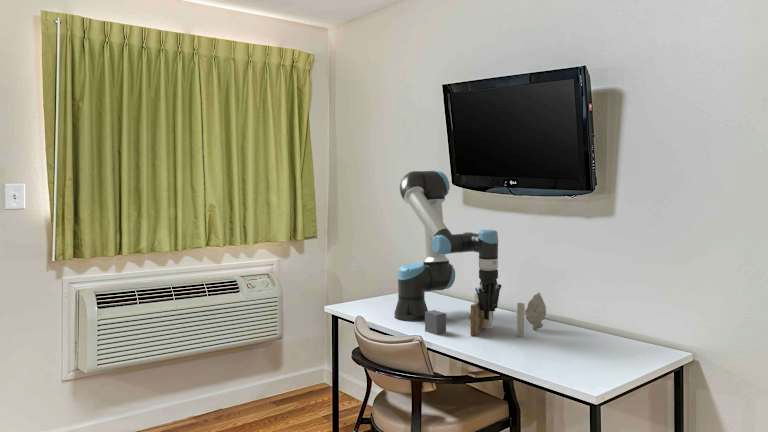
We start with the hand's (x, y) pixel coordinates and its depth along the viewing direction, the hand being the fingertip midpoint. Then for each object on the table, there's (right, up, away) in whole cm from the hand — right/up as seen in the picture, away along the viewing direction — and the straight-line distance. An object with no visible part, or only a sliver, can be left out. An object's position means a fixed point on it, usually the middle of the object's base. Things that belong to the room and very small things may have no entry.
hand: (488, 327), depth 237 cm
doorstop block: (-21, -2, +1) cm, 21 cm away
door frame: (+4, -2, +3) cm, 6 cm away
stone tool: (+20, -2, +2) cm, 20 cm away
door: (-4, -2, +1) cm, 5 cm away
